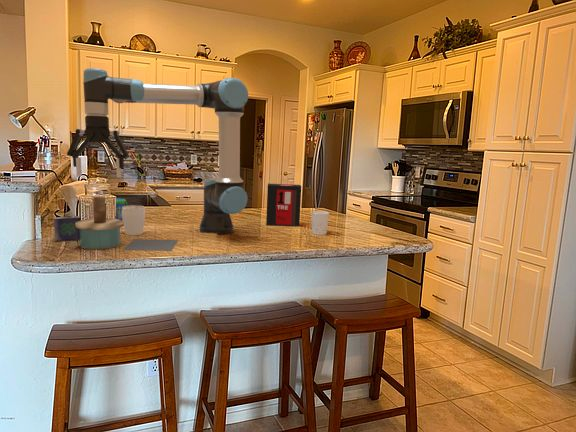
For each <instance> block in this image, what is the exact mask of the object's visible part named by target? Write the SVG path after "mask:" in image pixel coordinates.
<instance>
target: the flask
mask: <svg viewBox="0 0 576 432" xmlns="http://www.w3.org/2000/svg"><path fill="white" fill-rule="evenodd" d="M69 213H70V212H65V213H64V216H62V217H61V216H60V217H59V216H58V217H54V218H53V229H54V230H53V231H54V232H53V233H54V241H55V242H70V241H80V229H78V228H76V227H75V223H76V222H78V221H81V220H82V218H81V217H80V216H78V215H74V216H73V215H70V214H69Z"/></svg>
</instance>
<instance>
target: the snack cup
mask: <svg viewBox="0 0 576 432" xmlns="http://www.w3.org/2000/svg"><path fill="white" fill-rule="evenodd" d="M123 206H129V205H128V202H127V200H126V199H125V198H121V197H120V198H117V197H116V216H115V219H119V220H122V221H123V219H122V207H123Z"/></svg>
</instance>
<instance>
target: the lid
mask: <svg viewBox="0 0 576 432" xmlns="http://www.w3.org/2000/svg"><path fill="white" fill-rule="evenodd" d="M105 199H106V197H105V196H94V197H93V198H92V200H93V202H92V203H93V204H92V205H93V209H92V210H93V218H90V219H88V218H86V219H81V221H78V222H76V223H75V227H76V228H78V229H84V230H108V229H115V228H120V229H121V228H122V227H124V221H123V219H122V220H119V219H108V218H106V203H105Z"/></svg>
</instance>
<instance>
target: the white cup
mask: <svg viewBox="0 0 576 432" xmlns="http://www.w3.org/2000/svg"><path fill="white" fill-rule="evenodd" d="M329 217H330V212H328V211H323V210H313V211H312V212H311V234H312V235H315V236H317V235H319V236H325V235H327V233H328V228H329V227H328V225H329Z"/></svg>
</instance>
